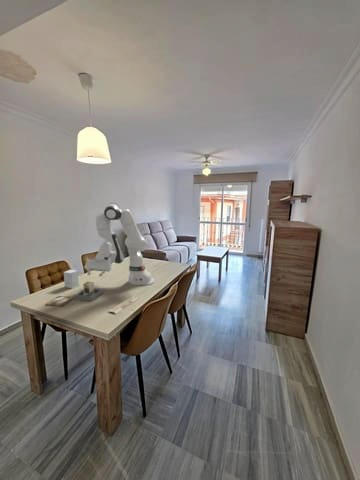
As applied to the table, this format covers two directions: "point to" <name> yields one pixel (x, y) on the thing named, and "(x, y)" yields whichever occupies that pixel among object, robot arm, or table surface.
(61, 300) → the walnut board
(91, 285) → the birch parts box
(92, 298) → the charcoal bin
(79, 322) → the table surface
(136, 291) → the table surface
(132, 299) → the newspaper
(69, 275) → the supplement box
